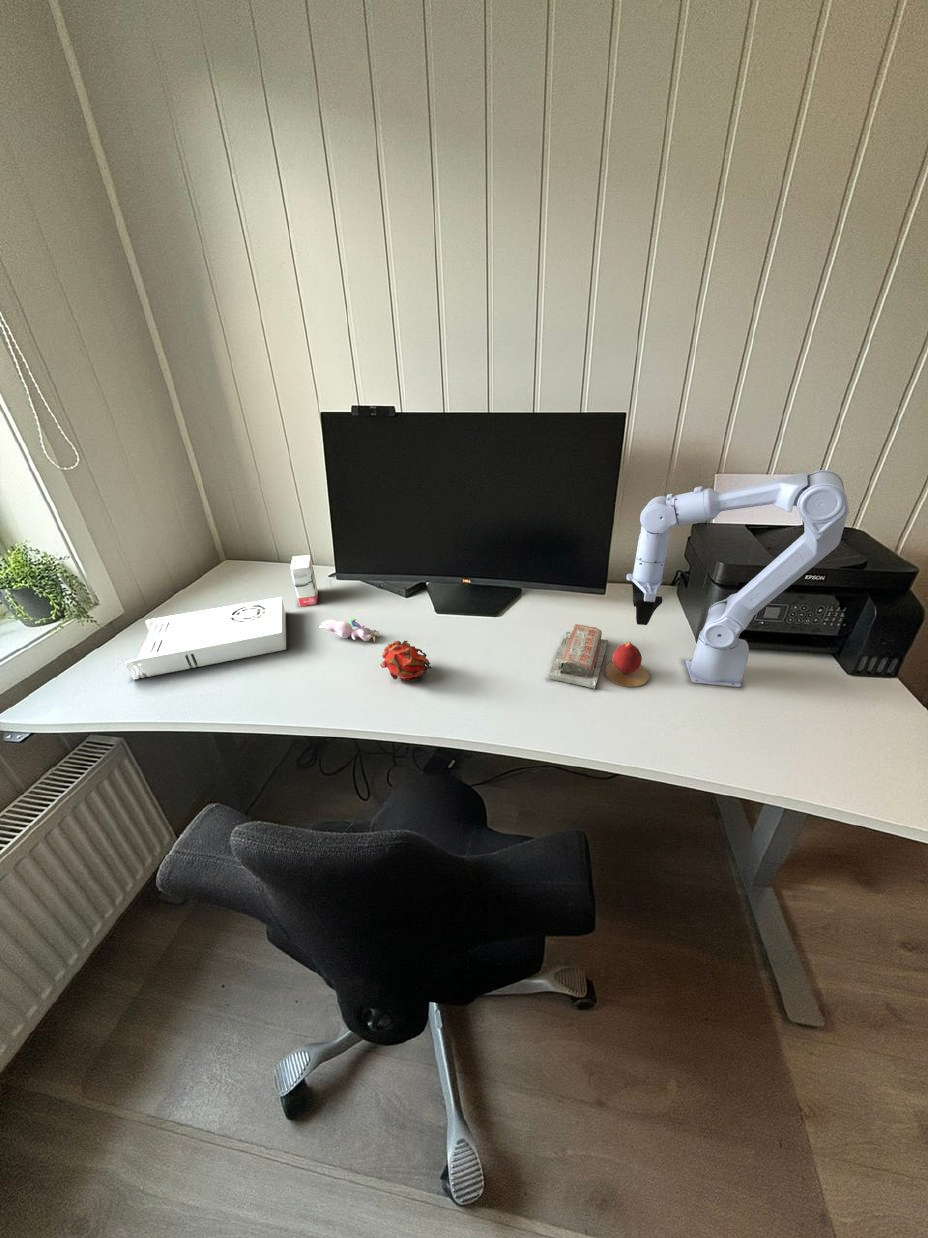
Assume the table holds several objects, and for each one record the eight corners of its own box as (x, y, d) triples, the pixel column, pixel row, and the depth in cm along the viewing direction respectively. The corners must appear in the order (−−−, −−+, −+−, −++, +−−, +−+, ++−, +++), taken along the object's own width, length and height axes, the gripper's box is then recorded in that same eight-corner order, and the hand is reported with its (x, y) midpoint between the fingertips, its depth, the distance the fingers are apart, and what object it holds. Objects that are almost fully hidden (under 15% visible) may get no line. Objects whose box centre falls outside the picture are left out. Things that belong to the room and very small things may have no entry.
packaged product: (567, 619, 114) (610, 627, 111) (565, 636, 117) (607, 644, 114) (549, 662, 100) (597, 671, 97) (547, 680, 103) (595, 690, 99)
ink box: (317, 604, 135) (309, 566, 129) (299, 606, 134) (289, 568, 128) (318, 590, 142) (310, 553, 136) (301, 593, 141) (292, 556, 135)
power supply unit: (152, 636, 123) (144, 620, 120) (285, 612, 131) (281, 596, 129) (133, 680, 108) (124, 662, 105) (286, 649, 116) (281, 632, 113)
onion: (633, 664, 106) (639, 633, 102) (642, 680, 101) (649, 649, 97) (607, 665, 106) (612, 634, 102) (615, 681, 101) (620, 650, 97)
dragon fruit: (384, 670, 110) (429, 689, 107) (366, 671, 102) (415, 691, 98) (396, 635, 110) (442, 653, 106) (379, 633, 102) (429, 652, 98)
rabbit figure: (381, 637, 122) (326, 624, 123) (382, 617, 119) (325, 604, 120) (372, 651, 117) (314, 637, 118) (372, 631, 113) (313, 617, 115)
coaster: (646, 663, 107) (646, 662, 106) (650, 689, 99) (651, 688, 99) (604, 659, 108) (604, 658, 108) (605, 684, 101) (605, 683, 101)
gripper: (627, 542, 104) (618, 597, 111) (633, 571, 92) (623, 630, 99) (661, 544, 103) (651, 599, 110) (672, 573, 91) (659, 633, 98)
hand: (640, 614), depth 105 cm, fingers open, 7 cm apart
